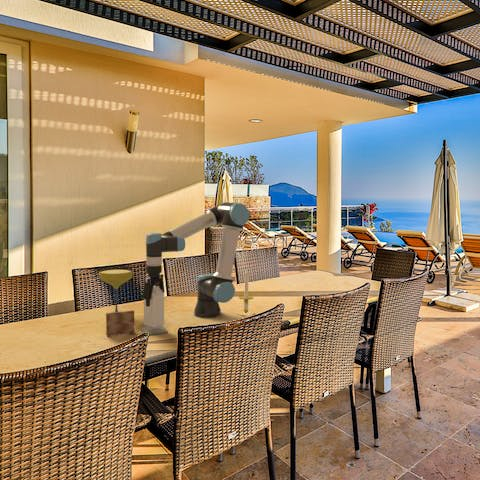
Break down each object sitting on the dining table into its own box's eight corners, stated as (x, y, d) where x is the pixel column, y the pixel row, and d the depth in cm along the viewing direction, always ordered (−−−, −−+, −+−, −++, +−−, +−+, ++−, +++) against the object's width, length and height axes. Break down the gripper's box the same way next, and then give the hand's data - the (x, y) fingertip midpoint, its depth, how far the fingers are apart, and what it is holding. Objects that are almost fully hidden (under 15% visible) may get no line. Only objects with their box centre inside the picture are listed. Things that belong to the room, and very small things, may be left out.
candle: (255, 311, 246) (256, 266, 243) (253, 316, 236) (255, 269, 233) (238, 311, 247) (239, 265, 244) (236, 315, 237) (237, 268, 234)
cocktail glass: (118, 308, 247) (118, 266, 244) (139, 314, 237) (139, 270, 234) (92, 315, 232) (91, 271, 229) (114, 321, 222) (113, 275, 219)
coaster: (162, 326, 214) (162, 325, 214) (167, 333, 204) (167, 331, 204) (140, 329, 210) (140, 327, 210) (145, 335, 200) (145, 334, 200)
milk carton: (143, 324, 206) (143, 287, 204) (154, 321, 212) (154, 284, 210) (153, 327, 202) (153, 289, 200) (164, 324, 207) (164, 286, 205)
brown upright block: (133, 330, 207) (133, 309, 206) (135, 334, 202) (135, 311, 201) (105, 334, 201) (105, 311, 200) (107, 337, 197) (106, 314, 196)
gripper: (158, 261, 215) (158, 304, 217) (134, 267, 195) (135, 314, 197) (171, 262, 212) (171, 306, 215) (148, 268, 192) (148, 316, 195)
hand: (154, 310), depth 206 cm, fingers closed on milk carton, 8 cm apart
